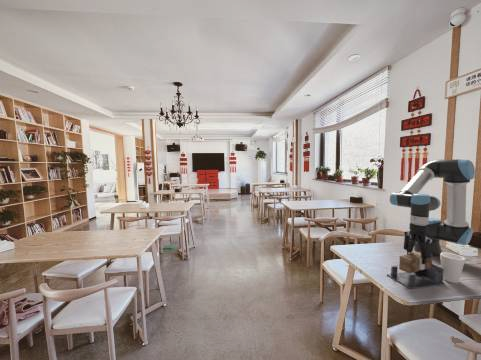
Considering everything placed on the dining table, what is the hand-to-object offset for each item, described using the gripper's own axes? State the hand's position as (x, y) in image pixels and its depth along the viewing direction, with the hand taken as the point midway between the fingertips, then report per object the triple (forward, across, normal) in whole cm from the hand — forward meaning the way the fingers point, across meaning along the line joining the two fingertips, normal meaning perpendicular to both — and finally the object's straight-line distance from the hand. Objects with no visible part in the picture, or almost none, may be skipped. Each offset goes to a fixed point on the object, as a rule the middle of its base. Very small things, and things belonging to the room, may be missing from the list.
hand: (415, 266), depth 118 cm
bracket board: (+7, 0, 0) cm, 7 cm away
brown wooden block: (+1, 0, 0) cm, 1 cm away
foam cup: (+7, +4, +18) cm, 20 cm away
